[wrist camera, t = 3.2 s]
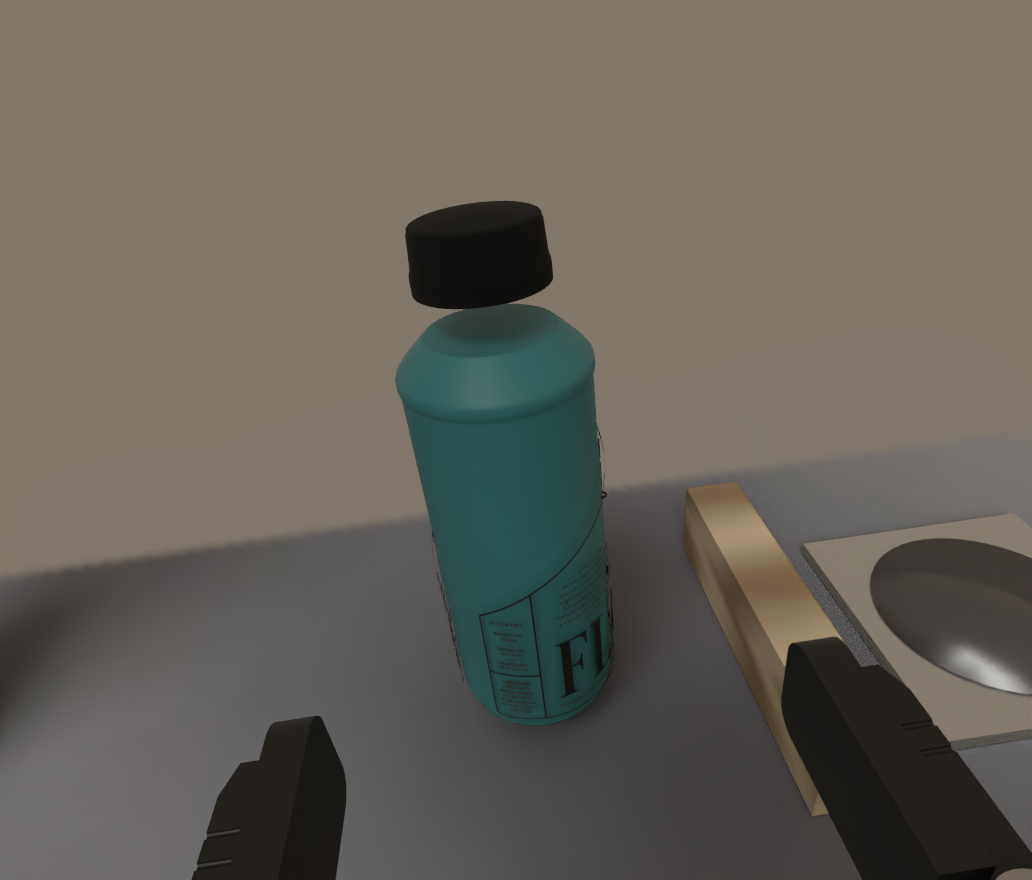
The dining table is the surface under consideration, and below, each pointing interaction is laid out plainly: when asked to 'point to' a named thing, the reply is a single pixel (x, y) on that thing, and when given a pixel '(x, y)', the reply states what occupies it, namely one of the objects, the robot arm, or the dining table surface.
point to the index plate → (945, 618)
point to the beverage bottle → (508, 462)
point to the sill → (754, 603)
